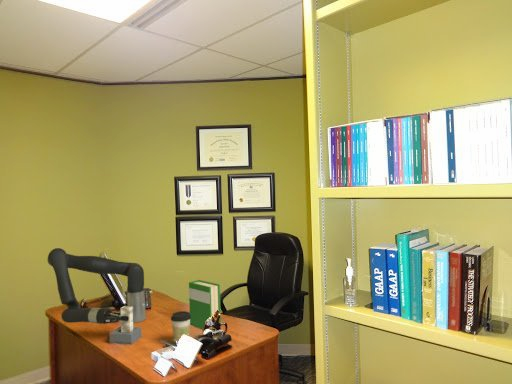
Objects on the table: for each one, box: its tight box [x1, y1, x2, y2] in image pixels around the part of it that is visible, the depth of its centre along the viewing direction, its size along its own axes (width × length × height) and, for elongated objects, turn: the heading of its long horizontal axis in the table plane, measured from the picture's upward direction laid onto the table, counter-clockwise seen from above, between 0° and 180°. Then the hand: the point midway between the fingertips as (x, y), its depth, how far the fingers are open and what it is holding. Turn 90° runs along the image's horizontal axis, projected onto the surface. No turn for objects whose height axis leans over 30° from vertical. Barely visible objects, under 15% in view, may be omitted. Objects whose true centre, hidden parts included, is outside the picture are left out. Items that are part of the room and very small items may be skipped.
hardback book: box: [188, 279, 222, 330], centre depth 209 cm, size 18×7×24 cm, turn 48°
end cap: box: [108, 325, 143, 346], centre depth 194 cm, size 12×10×5 cm
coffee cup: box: [170, 311, 191, 342], centre depth 186 cm, size 10×10×15 cm
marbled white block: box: [120, 305, 134, 333], centre depth 193 cm, size 5×3×15 cm, turn 78°
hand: (130, 317), depth 193 cm, fingers closed on marbled white block, 3 cm apart
